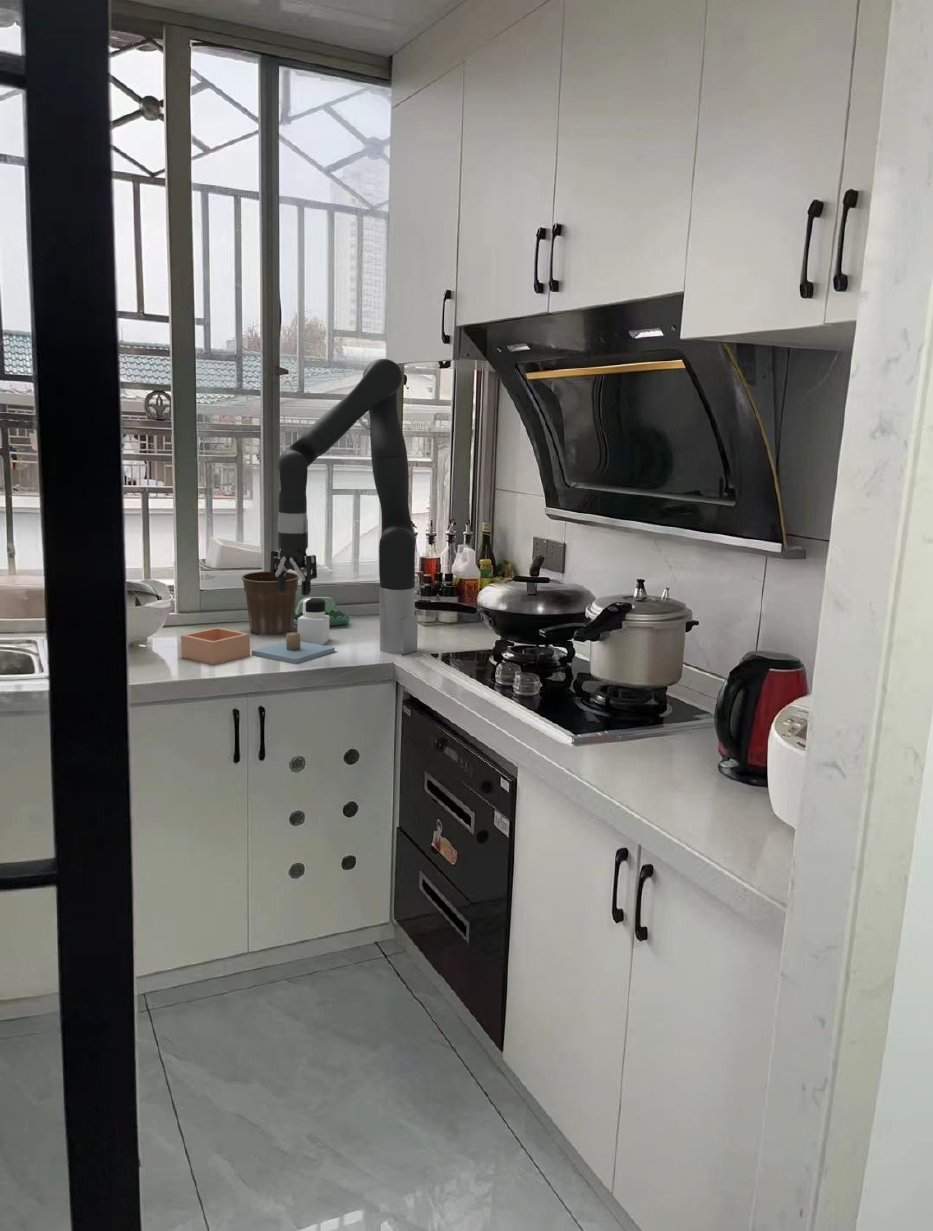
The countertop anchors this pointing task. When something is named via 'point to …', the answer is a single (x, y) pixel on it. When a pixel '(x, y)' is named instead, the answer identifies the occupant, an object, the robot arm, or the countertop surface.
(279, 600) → the plant pot
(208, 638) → the square orange box
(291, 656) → the lid
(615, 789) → the countertop surface
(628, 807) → the countertop surface
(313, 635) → the medicine bottle
